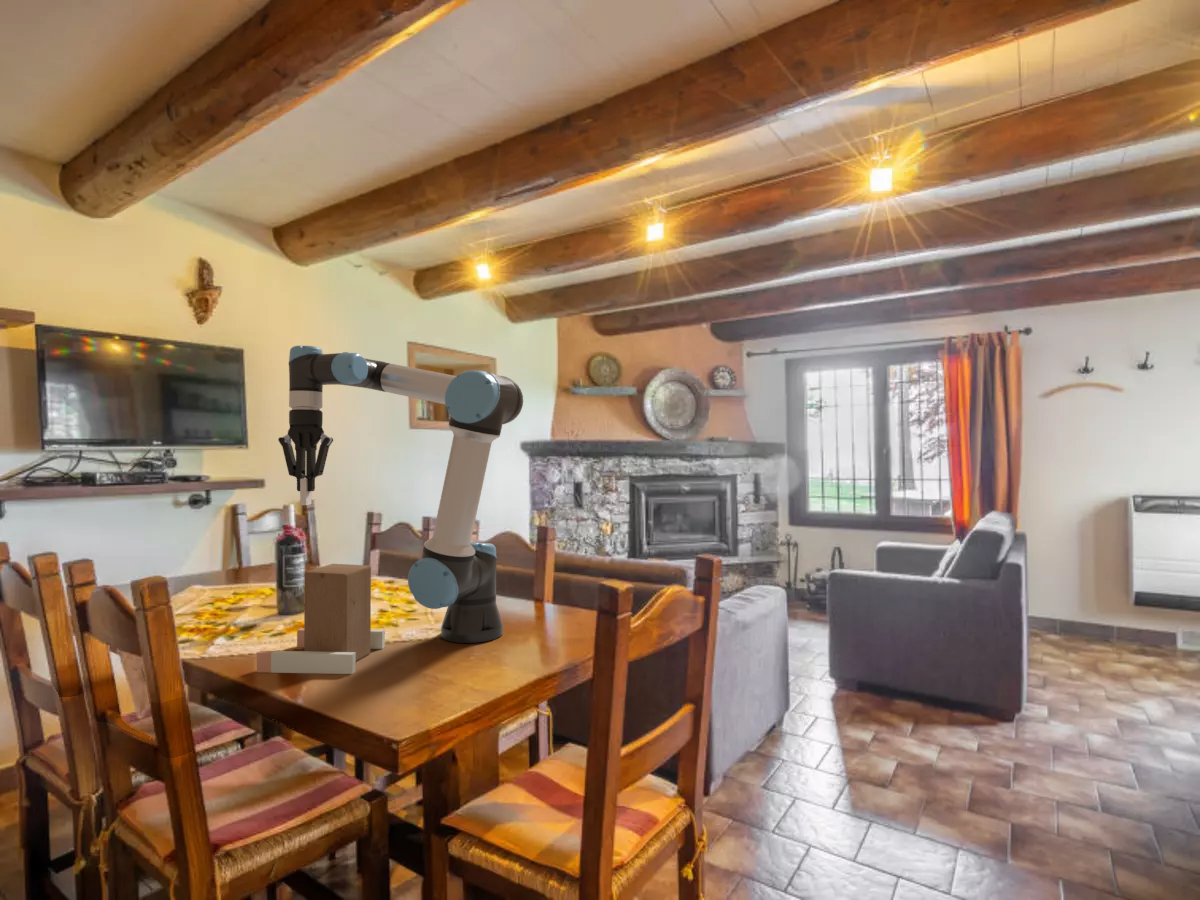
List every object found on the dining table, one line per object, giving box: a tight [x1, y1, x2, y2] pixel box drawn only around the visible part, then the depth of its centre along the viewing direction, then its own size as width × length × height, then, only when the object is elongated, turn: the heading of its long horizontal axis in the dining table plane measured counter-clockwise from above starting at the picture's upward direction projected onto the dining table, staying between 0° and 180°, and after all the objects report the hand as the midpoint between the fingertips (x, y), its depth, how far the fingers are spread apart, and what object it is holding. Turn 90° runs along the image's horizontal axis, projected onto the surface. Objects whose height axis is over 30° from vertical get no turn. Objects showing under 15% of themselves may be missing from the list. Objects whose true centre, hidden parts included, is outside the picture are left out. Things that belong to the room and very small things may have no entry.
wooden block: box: [303, 563, 372, 662], centre depth 141 cm, size 10×10×20 cm
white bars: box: [256, 627, 386, 675], centre depth 141 cm, size 20×18×4 cm
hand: (305, 504), depth 159 cm, fingers closed
